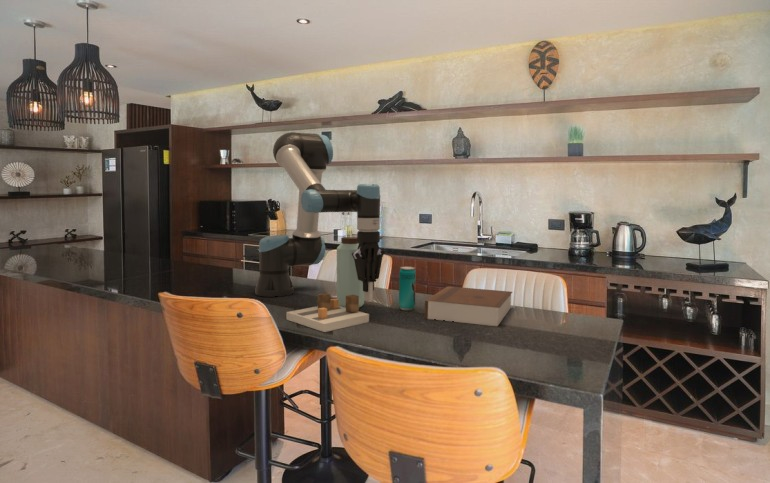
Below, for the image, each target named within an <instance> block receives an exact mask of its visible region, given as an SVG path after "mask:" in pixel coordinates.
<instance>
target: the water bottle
mask: <svg viewBox="0 0 770 483" xmlns="http://www.w3.org/2000/svg"><path fill="white" fill-rule="evenodd" d="M340 240H341V243H340V244H339V245H338V246H337V247H336V299H339V306H340V307H344V308H346V296H348V295H357V296H359V308H361V307H363V305H364V304H365V301H364V291H363V282H362V281H360V280H358V277H357V272H356V267H355V261H354V258H353V256H352V253H355V252H356V251H357V250H358V245H359V243H358V242H357V236H344V237H341V239H340Z"/></svg>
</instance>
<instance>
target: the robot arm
mask: <svg viewBox="0 0 770 483" xmlns="http://www.w3.org/2000/svg"><path fill="white" fill-rule="evenodd" d="M333 149H334V148H333V145H332V142H331V140H330V138H329V137H328V136H327V135H324V134H320V133H308V132H307V133H306V132H295V131H294V132H293V131H291V132H286V133H283V134H282V135H280V136H279V137H278V138H277V139H276V141H275V142H274V144H273V147H272V154H273V155H272V156H273V157H274V161H276V163H277V164H278V166H279V167H281V168H283V169H284V170H285V171H286V173H287V175H289V178H291V180H292V181H293V183H294V185H295V186H296V187H297V190H298V203H297V220H296V229H295V230H294V231H293V232H292V237H289V235H288V234H279V235H277V234H276V235H270V236H265V237H262V238H261V239H260V240H259V242H258V243H259V246H258V258H259V260H258V261H259V263H258V264H259V276H258V278H257V282H256V285H255V289H254V291H255V295H256V296H260V297H268V298H269V297H270V298H273V297H274V298H275V296H278V297H286V296H290V295H292V293H293V294H294V286H293V282H292V280H291V276H290V268H291V267H301V266H313V265H314V266H315V265H318V264H320V263H321V262H322V261H323V260H324V257H325V254H326V245H325V244H326V242H325V239H324V238H323V237H321V236H322V234H321V232H319V230H318V229H319V216H320V213H357V216H356V229H357V230H358V231H357V232H356V237H357V242H358V243H359V245H358V250H357V251H356V252H355V253H352V256H353V258H354V261H355V267H356V272H357V277H358V280H360V281H362V282H363V291H364V302H367V303H368V302H369V303H370V302H373V301H374V299H373V298H374V290H375V283H376V282H377V280H379V277H380V273H381V269H382V261H383V257H384V255H385V250H383V249H381V248H380V245H379V243H380V241H381V233H380V232H381V231H379V230H380V228H381V227H380V224H381V223H380V222H381V220H380V219H381V218H380V217H381V216H380V215H381V189H380V188H381V187H380V185H379V184H378V183H358V185H357V188H356V189H326V188H325V187H324V185H323V184H322V178H323V177H322V176H323V173H324V172H325V171H326V170H327V166H328V165H329V164H331V163H332V160H333V157H334V150H333ZM285 295H286V296H285Z"/></svg>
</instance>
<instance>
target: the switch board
mask: <svg viewBox="0 0 770 483" xmlns="http://www.w3.org/2000/svg"><path fill="white" fill-rule="evenodd" d="M286 321H290V322H293V323H296V324H298V325H302V326H304V327H307V328H311V329H313V330H317V331H320V332H323V333H327V332H331V331H335V330H339V329H343V328H349V327H353V326H358V325H361V324H366V323H369V322H370V313H365V312H363V311H357V312H348V311H346V308H344V307H340V306H339V299H337V298H330V310H327V308H318V305H317V306H316V305H315V306H312V307H307V308H302V309H295V310H290V311H286Z"/></svg>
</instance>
